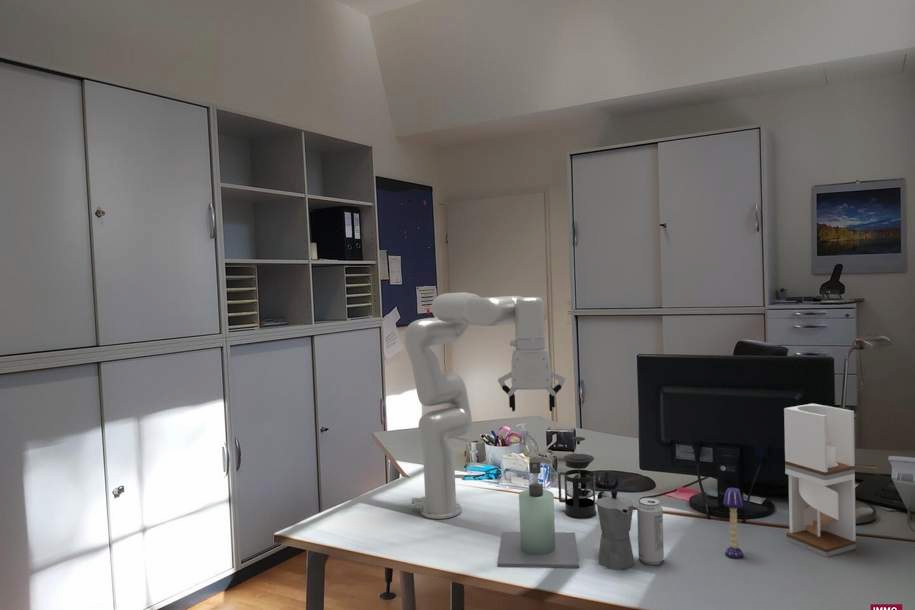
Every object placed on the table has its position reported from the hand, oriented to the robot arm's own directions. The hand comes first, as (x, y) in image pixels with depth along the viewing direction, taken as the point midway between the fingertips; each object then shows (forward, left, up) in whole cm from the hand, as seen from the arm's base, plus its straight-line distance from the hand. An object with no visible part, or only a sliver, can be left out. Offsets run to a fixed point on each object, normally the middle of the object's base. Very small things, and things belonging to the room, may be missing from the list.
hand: (532, 410), depth 170 cm
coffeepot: (+19, -5, -37) cm, 42 cm away
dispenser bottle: (0, 0, -37) cm, 37 cm away
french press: (+12, +27, -37) cm, 47 cm away
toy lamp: (+49, -1, -37) cm, 62 cm away
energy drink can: (+28, -5, -37) cm, 47 cm away
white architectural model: (+72, +6, -37) cm, 81 cm away
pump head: (0, -2, -19) cm, 19 cm away
